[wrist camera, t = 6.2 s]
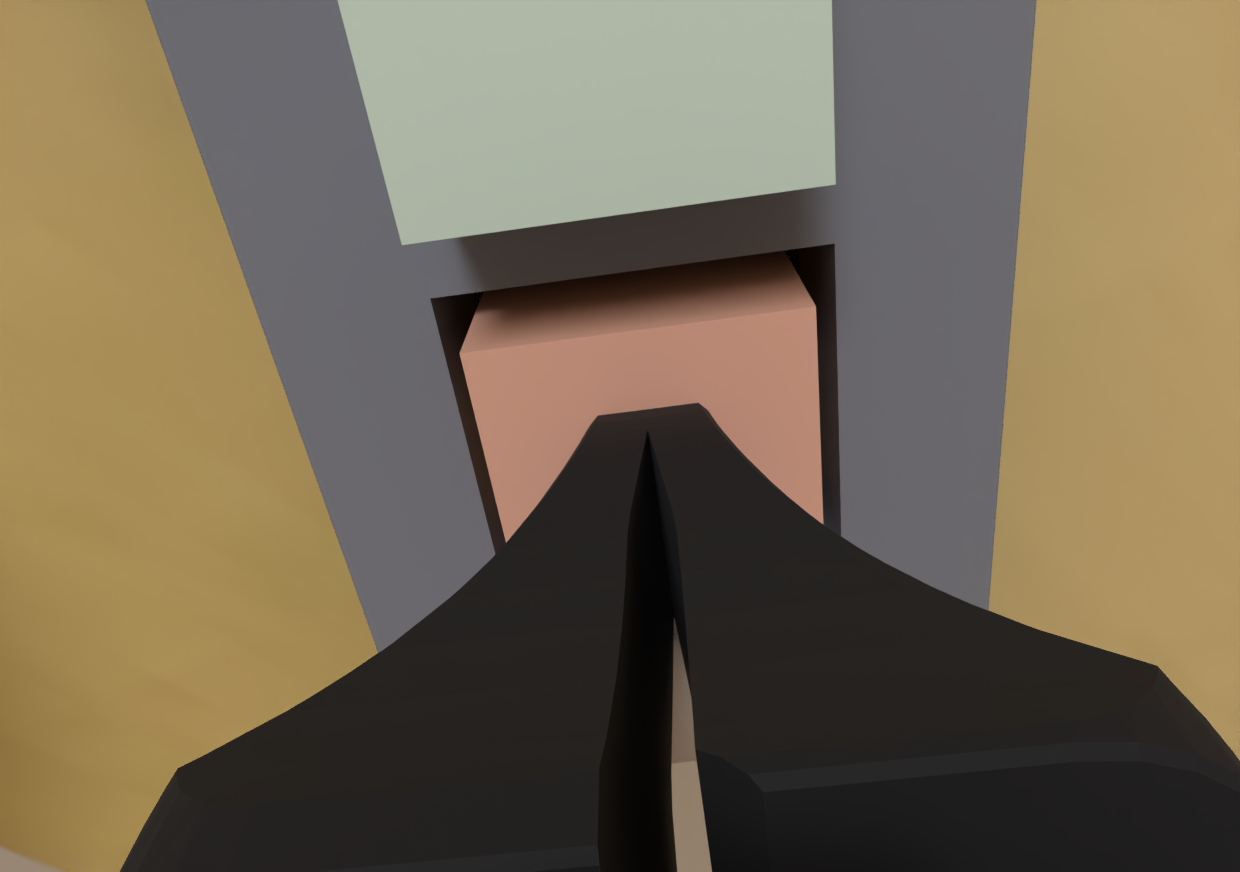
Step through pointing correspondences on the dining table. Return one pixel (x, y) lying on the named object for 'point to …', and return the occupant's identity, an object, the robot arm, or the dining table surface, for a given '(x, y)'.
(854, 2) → the keypad board
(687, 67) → the key sage
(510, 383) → the key terracotta
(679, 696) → the key ivory
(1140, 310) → the dining table surface
